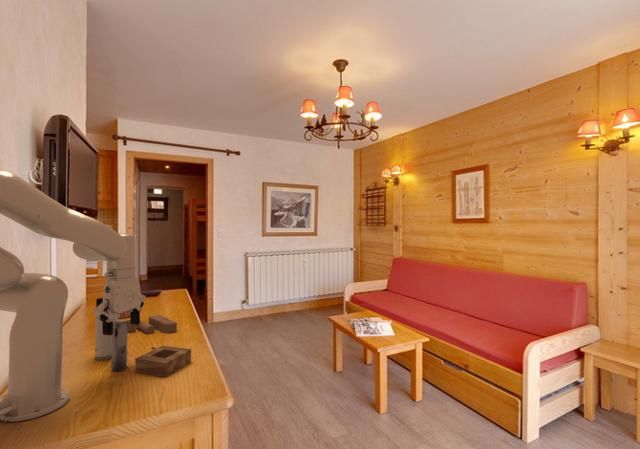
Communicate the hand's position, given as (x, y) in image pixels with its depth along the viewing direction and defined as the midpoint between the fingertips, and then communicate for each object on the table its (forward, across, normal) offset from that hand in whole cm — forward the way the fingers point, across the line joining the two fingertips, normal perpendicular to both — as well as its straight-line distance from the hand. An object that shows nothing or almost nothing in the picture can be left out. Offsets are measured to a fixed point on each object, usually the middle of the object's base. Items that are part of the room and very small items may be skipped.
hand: (122, 329), depth 98 cm
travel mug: (+12, +5, +12) cm, 18 cm away
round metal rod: (+12, -1, 0) cm, 12 cm away
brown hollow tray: (+12, +4, -12) cm, 17 cm away
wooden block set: (+13, +29, +19) cm, 37 cm away
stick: (+12, +14, -2) cm, 19 cm away
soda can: (+13, +44, +47) cm, 66 cm away
